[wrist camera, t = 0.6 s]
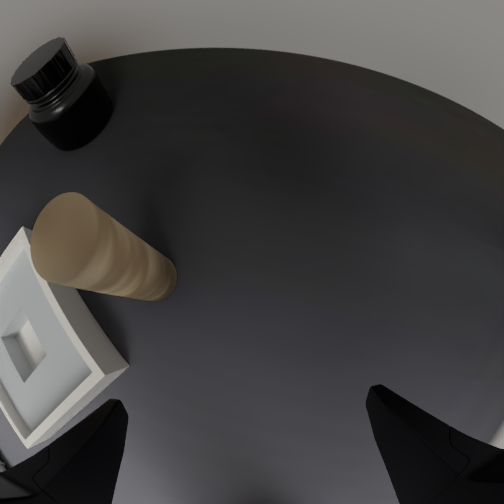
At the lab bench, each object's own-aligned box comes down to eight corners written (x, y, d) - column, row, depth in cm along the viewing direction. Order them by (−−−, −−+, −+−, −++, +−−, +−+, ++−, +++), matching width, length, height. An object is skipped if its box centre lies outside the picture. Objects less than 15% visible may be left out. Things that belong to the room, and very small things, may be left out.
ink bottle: (81, 93, 27) (44, 35, 16) (128, 95, 27) (93, 22, 15) (43, 152, 25) (-11, 100, 14) (86, 160, 25) (26, 94, 13)
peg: (167, 308, 22) (74, 299, 9) (127, 290, 22) (20, 262, 9) (184, 263, 22) (111, 205, 10) (143, 247, 23) (53, 183, 10)
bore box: (129, 365, 21) (105, 375, 16) (51, 437, 18) (27, 448, 14) (49, 238, 23) (22, 226, 19) (-12, 325, 21) (-37, 323, 16)
